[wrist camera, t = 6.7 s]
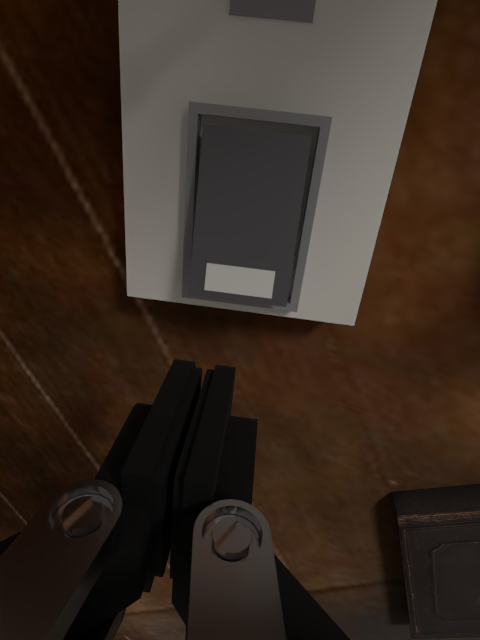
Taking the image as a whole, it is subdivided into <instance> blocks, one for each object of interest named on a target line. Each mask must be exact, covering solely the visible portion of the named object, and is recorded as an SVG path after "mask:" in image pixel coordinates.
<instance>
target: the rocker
mask: <svg viewBox="0 0 480 640" xmlns="http://www.w3.org/2000/svg"><path fill="white" fill-rule="evenodd" d="M311 139H312V136H303V135H294V134H285V133H276V132H267V131H258V130H249V129H240V128H231V127H222V126H213V125H204V124H203V130H202V142H201V154H200V165H199V177H198V188H197V200H196V212H195V223H194V235H193V246H192V258H191V270H190V281H189V293H188V294H190V295H197V296H205V297H213V298H221V299H228V300H236V301H244V302H251V303H259V304H267V305H274V306H282V307H286V306H287V299H288V293H289V286H290V279H291V273H292V266H293V259H294V253H295V246H296V239H297V233H298V226H299V219H300V213H301V206H302V199H303V193H304V186H305V179H306V173H307V166H308V159H309V153H310V146H311Z"/></svg>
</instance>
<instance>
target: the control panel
mask: <svg viewBox="0 0 480 640" xmlns="http://www.w3.org/2000/svg"><path fill="white" fill-rule="evenodd" d="M437 1H438V0H118V17H119V49H120V82H121V114H122V146H123V179H124V211H125V243H126V276H127V296H131V297H139V298H146V299H154V300H161V301H169V302H177V303H184V304H192V305H200V306H207V307H215V308H222V309H230V310H238V311H245V312H253V313H261V314H268V315H276V316H283V317H291V318H299V319H306V320H314V321H322V322H329V323H337V324H344V325H352V326H354V324H355V320H356V316H357V312H358V308H359V304H360V301H361V297H362V293H363V289H364V285H365V281H366V277H367V273H368V269H369V266H370V262H371V258H372V254H373V250H374V246H375V242H376V238H377V234H378V231H379V227H380V223H381V219H382V215H383V211H384V207H385V203H386V199H387V195H388V192H389V188H390V184H391V180H392V176H393V172H394V168H395V164H396V160H397V157H398V153H399V149H400V145H401V141H402V137H403V133H404V129H405V125H406V121H407V118H408V114H409V110H410V106H411V102H412V98H413V94H414V90H415V86H416V83H417V79H418V75H419V71H420V67H421V63H422V59H423V55H424V51H425V47H426V44H427V40H428V36H429V32H430V28H431V24H432V20H433V16H434V12H435V9H436V5H437ZM203 124H204V125H213V126H222V127H231V128H240V129H249V130H258V131H267V132H276V133H285V134H294V135H303V136H312V139H311V146H310V153H309V159H308V166H307V173H306V179H305V186H304V193H303V199H302V206H301V213H300V219H299V226H298V233H297V239H296V246H295V253H294V259H293V266H292V273H291V279H290V286H289V293H288V299H287V306H286V307H282V306H274V305H267V304H259V303H251V302H244V301H236V300H228V299H221V298H213V297H205V296H197V295H190V294H188V293H189V281H190V270H191V258H192V246H193V235H194V223H195V212H196V200H197V188H198V177H199V165H200V154H201V142H202V130H203Z"/></svg>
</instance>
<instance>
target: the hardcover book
mask: <svg viewBox="0 0 480 640" xmlns="http://www.w3.org/2000/svg"><path fill="white" fill-rule="evenodd" d="M391 495H392V498H393V501H394V505H395V508H396V514H397V522H398V530H399V539H400V547H401V556H402V564H403V572H404V581H405V589H406V598H407V606H408V615H409V623H410V631H411V637H412V638H413V639H418V638H461V637H480V484H473V485H462V486H451V487H441V488H430V489H419V490H408V491H397V492H391Z"/></svg>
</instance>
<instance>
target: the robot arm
mask: <svg viewBox="0 0 480 640" xmlns="http://www.w3.org/2000/svg"><path fill="white" fill-rule="evenodd" d="M235 371H236V367H229V366H221V365H216V366H215V370H211V369H207V372H206V375H205V378H204V382H203V385H202V388H201V377H202V368H196V367H195V362H191V361H184V360H176V359H175V360H174V361H173V363H172V365H171V367H170V369H169V371H168V374H167V376H166V378H165V380H164V382H163V384H162V386H161V388H160V390H159V393H158V395H157V397H156V399H155V401H154V403H153V405H149V404H141V403H137V404H135V406H134V407H133V409H132V411H131V413H130V414H129V416H128V418H127V420H126V422H125V424H124V425H123V427H122V429H121V431H120V433H119V435H118V437H117V438H116V440H115V442H114V444H113V446H112V448H111V449H110V451H109V453H108V455H107V457H106V459H105V461H104V462H103V464H102V466H101V468H100V470H99V472H98V473H97V475H96V477H95V479H87V480H80V481H77V482H74V483H71V484H68V485H66V486H65V487H63V488H61V489H60V490H58V491H57V492H56V493H55V494H53V495H52V496H51V497H50V498H49V499H48V500H47V501H46V503H45V504H44V505H43V506H42V507H41V509H40V510H39V511H38V512H37V513H36V515H35V516H34V517H33V518H32V519H31V521H30V522H29V523H28V524H27V525H26V527H25V528H24V529H23V530H22V531H21V532H19V533H17V534H15V535H13V536H11V537H9V538H7V539H5V540H3V541H1V542H0V640H114V638H115V636H116V633H117V631H118V629H119V627H120V625H121V623H122V620H123V617H124V614H125V611H126V608H127V607H128V606H130V605H131V604H132V603H134V602H135V601H137V600H138V599H140V598H141V596H142V592H143V591H144V592H150V590H151V587H152V583H153V580H154V576H158V577H163V575H164V572H165V568H166V564H167V561H168V557H169V553H170V549H171V556H170V578H171V579H173V587H172V604H173V605H174V607H175V609H176V610H177V612H178V613H179V615H180V617H181V618H182V620H183V622H184V623H185V625H186V636H185V640H350V639H349V638H348V637H347V636H346V634H345V633H344V632H343V631H342V630H341V629H340V628H339V627H338V625H337V624H336V623H335V622H334V621H333V620H332V619H331V618H330V616H329V615H328V614H327V613H326V612H325V611H324V610H323V609H322V607H321V606H320V605H319V604H318V603H317V602H316V601H315V600H314V598H313V597H312V596H311V595H310V594H309V593H308V592H307V591H306V589H305V588H304V587H303V586H302V585H301V584H300V583H299V582H298V580H297V579H296V578H295V577H294V576H293V575H292V574H291V573H290V571H289V570H288V569H287V568H286V567H285V566H284V565H283V564H282V562H281V561H280V560H279V559H278V558H277V557H276V556H275V555H274V551H273V544H272V537H271V531H270V528H269V525H268V522H267V520H266V519H265V517H264V516H263V515H262V513H261V512H260V511H259V510H257V509H256V508H255V507H254V506H252V492H253V478H254V464H255V450H256V436H257V419H250V418H243V417H235V416H230V415H231V406H232V397H233V389H234V380H235Z"/></svg>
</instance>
